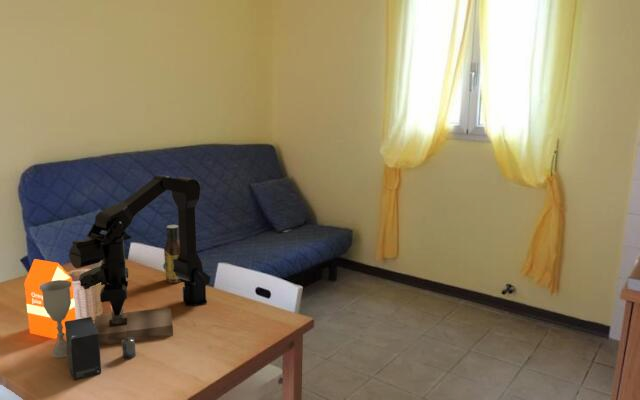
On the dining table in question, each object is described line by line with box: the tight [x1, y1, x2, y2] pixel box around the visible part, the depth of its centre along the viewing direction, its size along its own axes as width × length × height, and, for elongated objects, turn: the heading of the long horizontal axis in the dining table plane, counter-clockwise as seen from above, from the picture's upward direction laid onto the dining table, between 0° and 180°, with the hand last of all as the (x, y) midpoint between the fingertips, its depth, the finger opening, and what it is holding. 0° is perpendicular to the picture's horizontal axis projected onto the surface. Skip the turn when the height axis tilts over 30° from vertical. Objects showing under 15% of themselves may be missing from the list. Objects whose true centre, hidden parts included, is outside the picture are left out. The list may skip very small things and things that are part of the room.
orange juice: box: [23, 258, 77, 340], centre depth 136 cm, size 8×9×20 cm
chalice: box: [39, 280, 71, 358], centre depth 125 cm, size 7×7×18 cm
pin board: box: [94, 306, 174, 346], centre depth 138 cm, size 20×12×3 cm, turn 109°
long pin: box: [110, 305, 124, 324], centre depth 136 cm, size 3×3×9 cm
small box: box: [65, 316, 102, 381], centre depth 119 cm, size 11×6×10 cm, turn 33°
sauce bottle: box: [163, 224, 181, 284], centre depth 173 cm, size 6×6×20 cm
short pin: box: [121, 337, 137, 360], centre depth 125 cm, size 3×3×4 cm
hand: (117, 312), depth 136 cm, fingers closed on long pin, 3 cm apart
